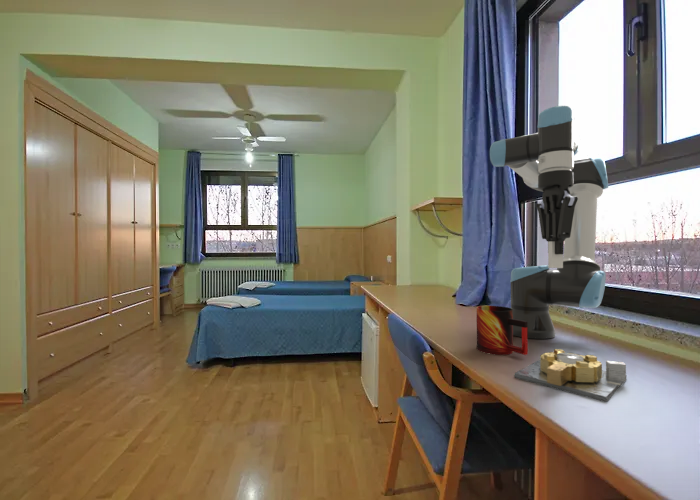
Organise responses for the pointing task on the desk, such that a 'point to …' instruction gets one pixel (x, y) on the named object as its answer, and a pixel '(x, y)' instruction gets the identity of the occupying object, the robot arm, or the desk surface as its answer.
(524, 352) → the mug
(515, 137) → the robot arm
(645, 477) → the desk surface
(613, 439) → the desk surface
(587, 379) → the octagonal block ring
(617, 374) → the grey base plate
